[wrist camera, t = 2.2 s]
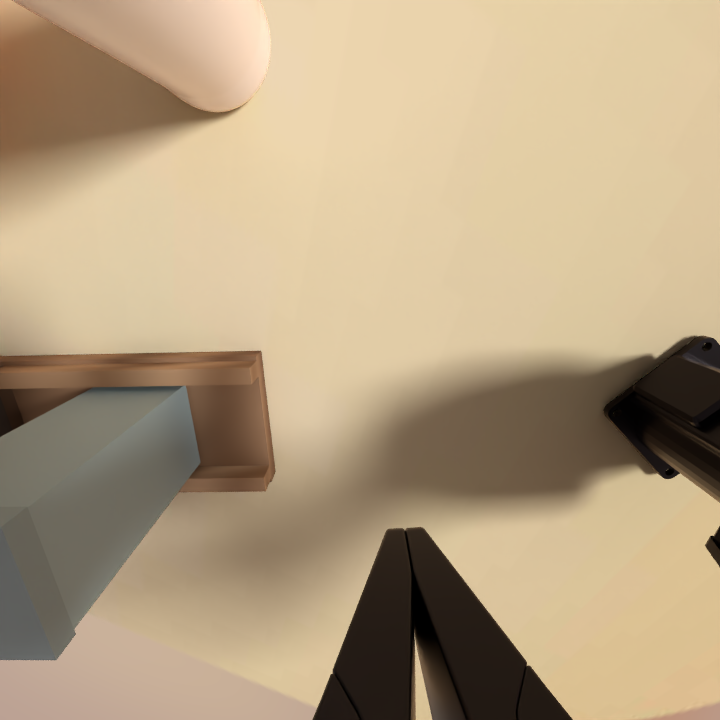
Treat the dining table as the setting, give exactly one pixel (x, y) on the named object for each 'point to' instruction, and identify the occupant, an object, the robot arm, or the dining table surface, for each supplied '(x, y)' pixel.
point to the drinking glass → (176, 42)
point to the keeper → (83, 505)
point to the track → (192, 369)
